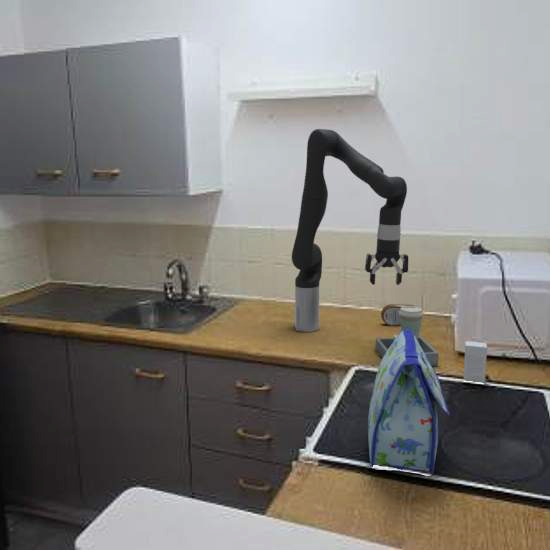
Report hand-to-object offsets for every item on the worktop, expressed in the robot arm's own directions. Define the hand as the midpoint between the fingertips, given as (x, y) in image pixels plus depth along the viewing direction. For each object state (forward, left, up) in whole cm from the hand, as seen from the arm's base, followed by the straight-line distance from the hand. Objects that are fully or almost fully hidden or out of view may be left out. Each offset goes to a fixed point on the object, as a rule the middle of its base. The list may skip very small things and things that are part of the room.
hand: (385, 284), depth 189 cm
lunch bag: (-14, -67, -23) cm, 72 cm away
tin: (+13, +24, -23) cm, 36 cm away
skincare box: (+18, -32, -23) cm, 44 cm away
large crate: (+4, -11, -23) cm, 26 cm away
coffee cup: (+11, +6, -23) cm, 26 cm away
